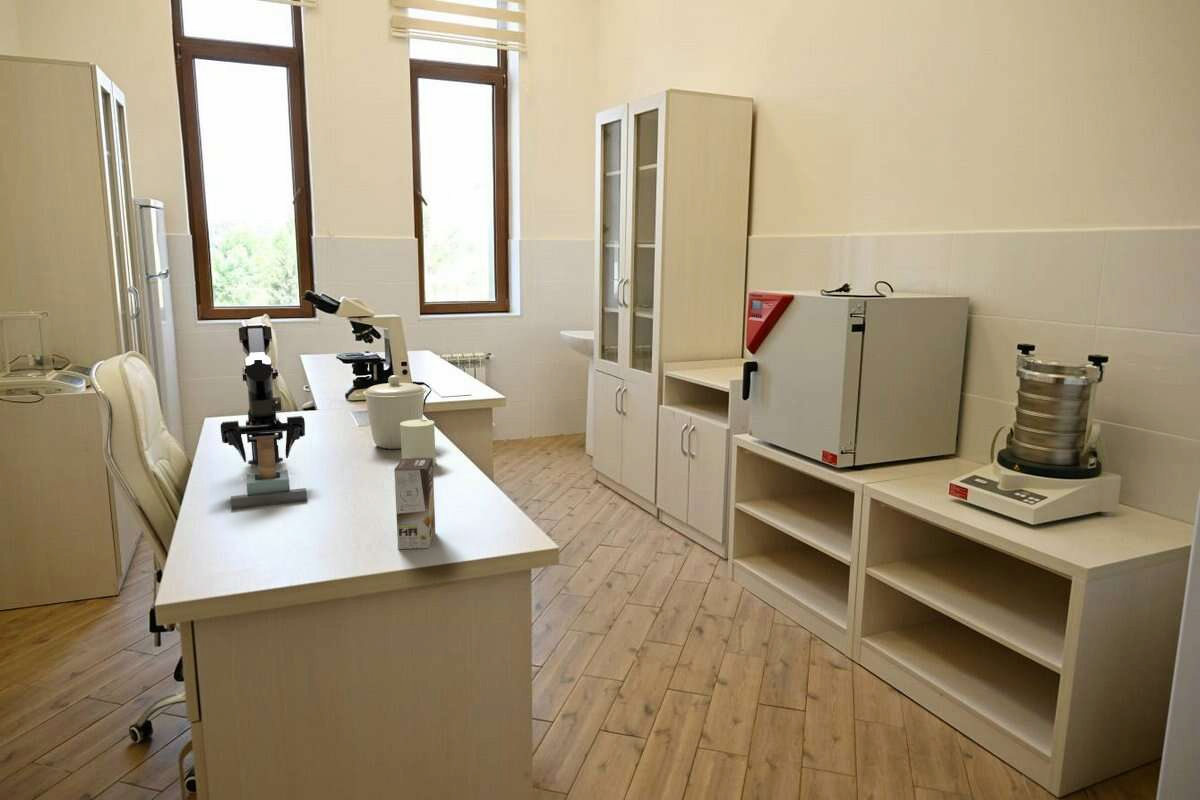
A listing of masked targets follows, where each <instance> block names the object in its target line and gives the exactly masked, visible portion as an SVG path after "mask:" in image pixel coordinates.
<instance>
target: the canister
mask: <svg viewBox="0 0 1200 800" xmlns="http://www.w3.org/2000/svg"><path fill="white" fill-rule="evenodd" d="M401 380H402V379H401V377H400V376H399V375H396V374H393V375H390V376H389V377H388V379H387V381H388V382H387V383H380V384H379V383H378V384H375V385H372V386H370V387H369V386H368V388H366V390H364V391H362V394H363V396H364V397H365V403H366V407H367V413H368V420H369V425H370V426H369V427H370V430H371V435H372V440H373V442H374V443H375V445H376V446H377V447H379V448H381V449H386V448H387V449H388V450H390V449H391V450H399V449H401V450H402V447H401V429H400V423H401V422H404V421H408V420H417V419H424V418H423V417H424V416H423V415H424V403H425V401H424V400H425V394H426V393H427V389H426V388H425V387H423V386H421V385H420V384H416V383H413V382H412V383H410V382H401ZM387 449H386V450H387Z"/></svg>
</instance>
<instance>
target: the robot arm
mask: <svg viewBox="0 0 1200 800" xmlns="http://www.w3.org/2000/svg"><path fill="white" fill-rule="evenodd" d="M272 333H273V332H272V327H271V326H267V325H265V323H264V324H263V323H247V324H245V325H244V326H241V327H238V338H239V340H238V341H239V343H240V344H242V350H243V353H244V354H245V355H246V356H247V357H246V358H245V359H244V367H241V370H242V371H241V372H242V373H241V374H242V381H243V382H246V386H247V395H248V412H247V420H245V425H239V423H240V422H239V420H231V421H222V422H221V423H220V435H221V441H222V443H223V444H228V446H233V447H234V448H235V450H236V451H237V452H238V453H239V455H240V457H241V459H242V460H243V462H244V463H246V462H248V464H254V463H255V465H259V464H258V450H257V439H259V438H265V437H271V438H274V452H275V463H276V462H280V461H283V460H284V458H283V457H280V453H279V445H278V441H281V440H282V439H284V434H283V432H285V434H286V435H285V458H286V459H288V458H289V456H290V452H291V449H292V447H293V445H294V443H295V441H297V440H300V439H301V437H304V436H306V421H305V418H304V417H303V415H298V416H297V415H295V416H294V415H293V416H286V422H281V420H280V417H277V412H282V409H283V408H282V401H281V400H282V398H281V397H280V396H277V397H274V389H273V385H274V383H273V382H274V380H275V381H276V379H277V377H279V370H277V368H276V367H275V365H272V364H273V363H272V358H271V357H269V356H267V355H268V353H269V351H270V350H271V348H270V347H271V345H270V343H272V342H273V336H272ZM242 435H246V440H247V443H248V444H249V443H251V445H250V446H251V456H252V459H251V460H248V461H247V455H246V450H245V447H244V443H243V438H242Z"/></svg>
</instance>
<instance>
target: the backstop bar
mask: <svg viewBox="0 0 1200 800" xmlns="http://www.w3.org/2000/svg"><path fill="white" fill-rule="evenodd" d="M307 493H308V491H307V487H306V488H302V487H301V488H295V489H290V490H284V491H275V492H266V493H257V494H241V495H231V496H230V509H233V510H239V509H238V508H241V509H247V508H246V507H250V508H257V507H258V508H259V507H266V506H273V505H274V504H275V505H282V504H292V503H298V502H299V503H300V502H306V501H308V494H307Z"/></svg>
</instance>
